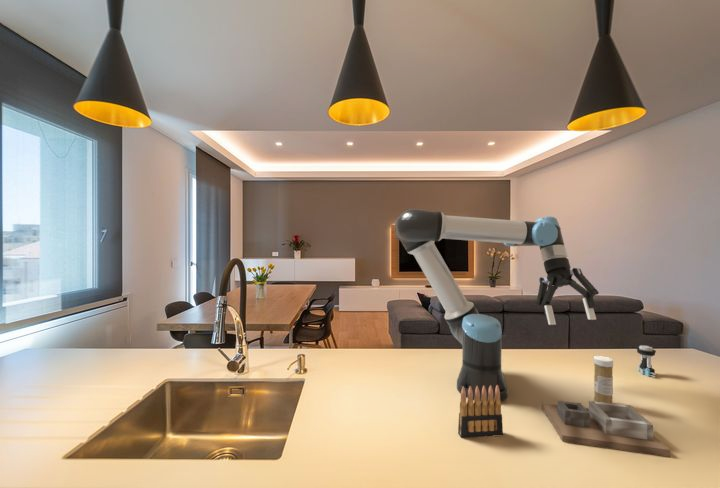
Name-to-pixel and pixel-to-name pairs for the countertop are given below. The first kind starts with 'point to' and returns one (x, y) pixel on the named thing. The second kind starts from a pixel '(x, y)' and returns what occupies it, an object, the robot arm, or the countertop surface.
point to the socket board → (604, 426)
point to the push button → (646, 360)
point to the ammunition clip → (480, 414)
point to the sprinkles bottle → (603, 379)
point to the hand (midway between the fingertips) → (571, 322)
